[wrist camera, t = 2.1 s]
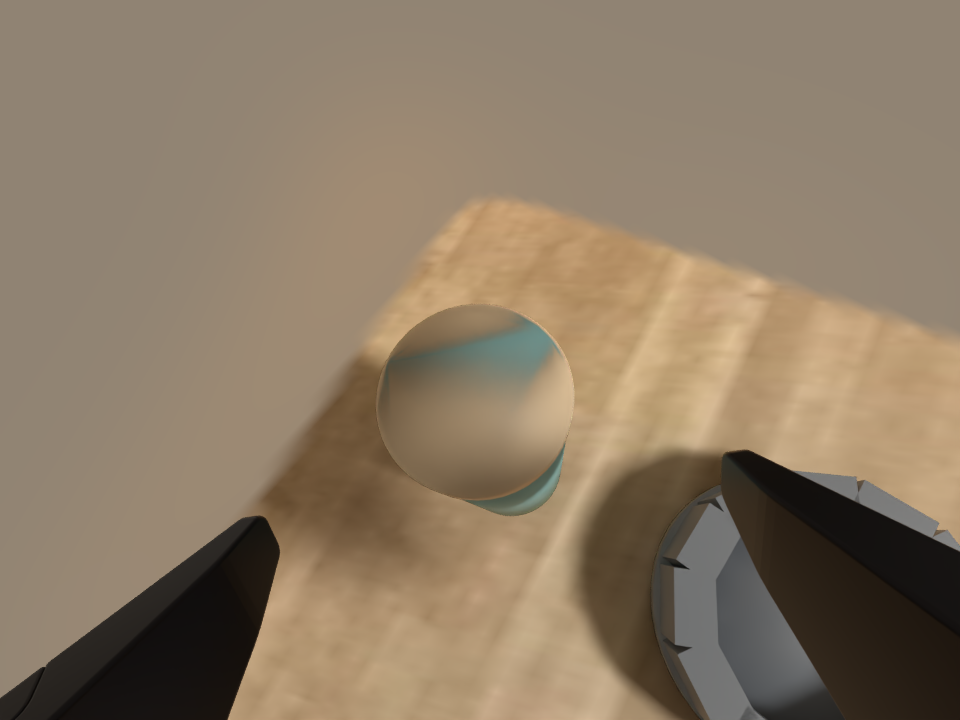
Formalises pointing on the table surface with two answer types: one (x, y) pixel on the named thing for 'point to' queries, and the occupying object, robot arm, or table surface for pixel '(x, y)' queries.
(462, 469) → the peg
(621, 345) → the table surface
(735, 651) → the holder
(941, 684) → the robot arm
